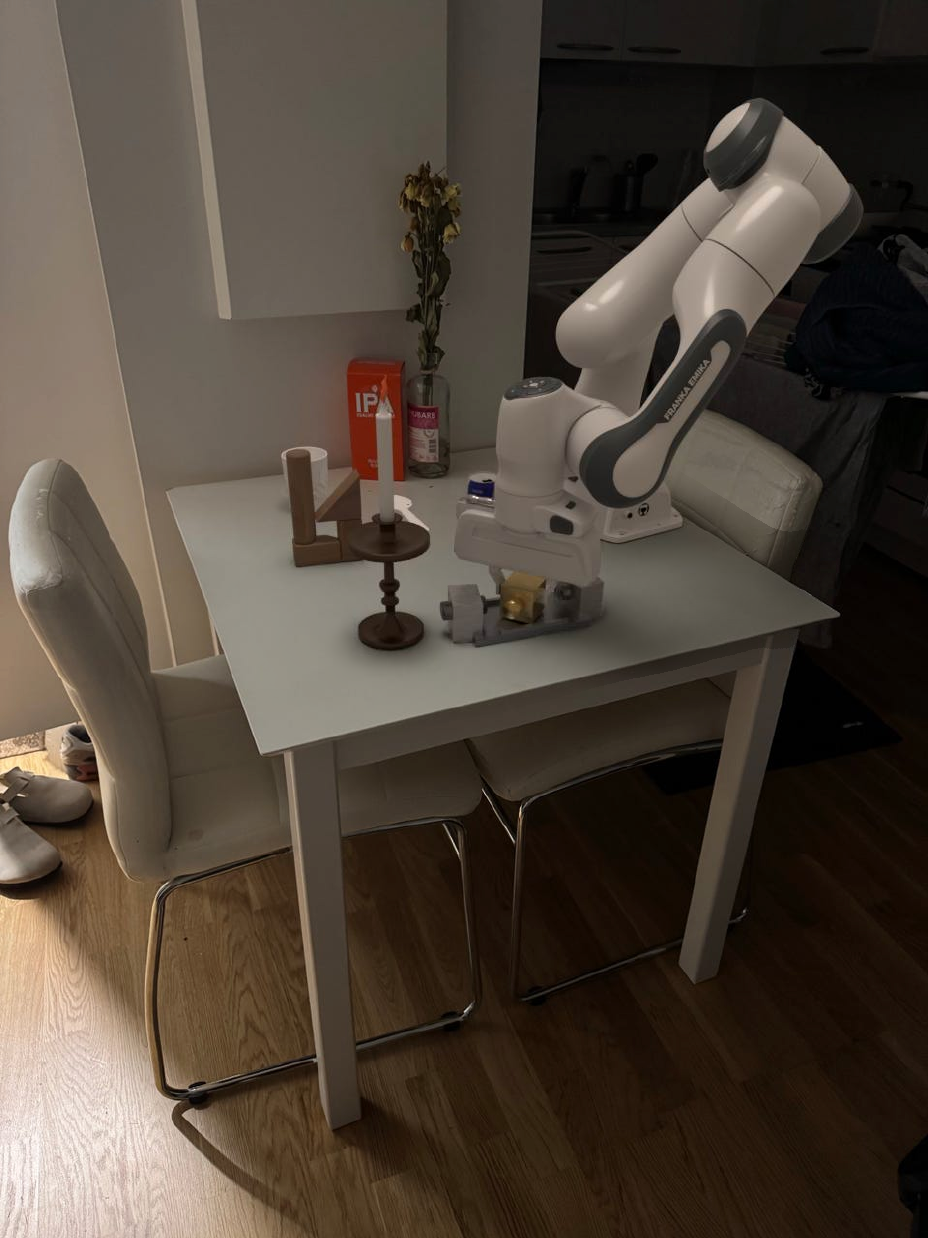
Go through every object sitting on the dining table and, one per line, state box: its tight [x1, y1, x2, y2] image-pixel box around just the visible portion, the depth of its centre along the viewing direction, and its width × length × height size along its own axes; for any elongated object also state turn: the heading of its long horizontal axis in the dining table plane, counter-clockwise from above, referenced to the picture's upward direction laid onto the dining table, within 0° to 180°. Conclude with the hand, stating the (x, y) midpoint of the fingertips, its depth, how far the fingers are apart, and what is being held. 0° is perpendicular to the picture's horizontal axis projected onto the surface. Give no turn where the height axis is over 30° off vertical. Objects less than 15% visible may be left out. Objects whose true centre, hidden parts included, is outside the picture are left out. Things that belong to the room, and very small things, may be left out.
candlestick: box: [346, 374, 431, 652], centre depth 112 cm, size 11×11×35 cm
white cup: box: [281, 446, 329, 512], centre depth 156 cm, size 8×8×10 cm
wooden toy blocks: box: [286, 449, 363, 567], centre depth 136 cm, size 4×11×18 cm, turn 106°
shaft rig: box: [439, 576, 605, 648], centre depth 122 cm, size 23×9×6 cm, turn 110°
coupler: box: [499, 571, 547, 624], centre depth 122 cm, size 9×5×5 cm, turn 154°
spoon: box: [394, 494, 430, 532], centre depth 157 cm, size 5×18×1 cm, turn 24°
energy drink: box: [466, 470, 497, 499], centre depth 142 cm, size 5×5×12 cm
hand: (523, 598), depth 122 cm, fingers closed on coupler, 5 cm apart
